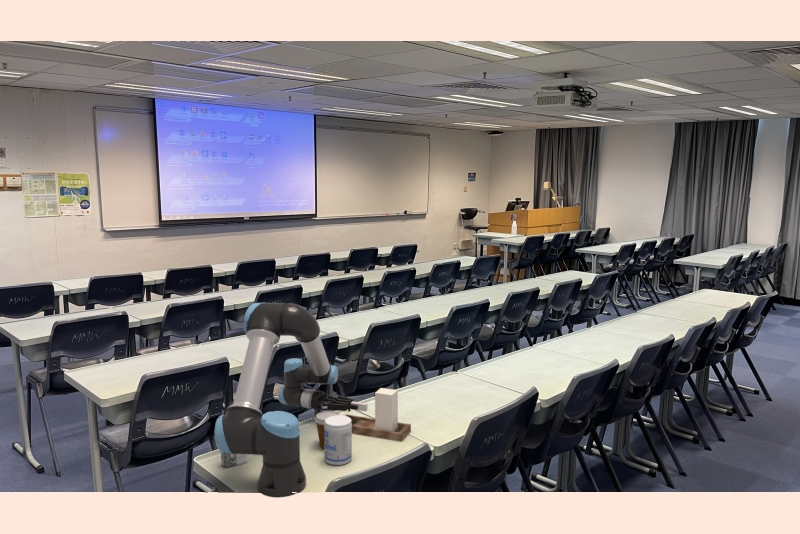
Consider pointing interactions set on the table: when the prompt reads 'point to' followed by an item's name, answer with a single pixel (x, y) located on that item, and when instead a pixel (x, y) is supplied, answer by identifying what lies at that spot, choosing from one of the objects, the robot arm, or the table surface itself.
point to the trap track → (368, 429)
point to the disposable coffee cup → (321, 422)
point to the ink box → (232, 459)
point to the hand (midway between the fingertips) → (366, 407)
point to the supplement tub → (338, 440)
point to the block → (386, 409)
